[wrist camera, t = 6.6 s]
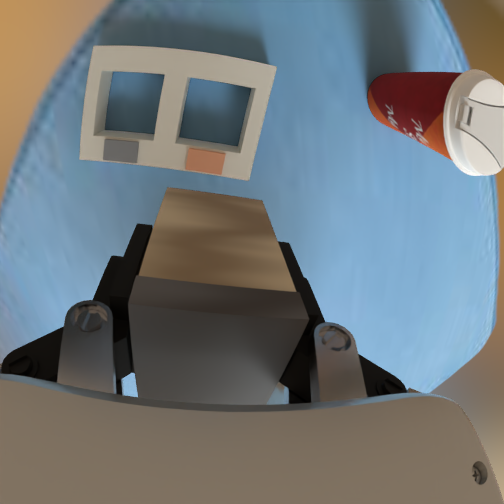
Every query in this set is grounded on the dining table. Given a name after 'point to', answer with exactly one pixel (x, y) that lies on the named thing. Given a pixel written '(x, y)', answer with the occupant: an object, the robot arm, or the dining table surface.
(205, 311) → the plug
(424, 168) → the dining table surface
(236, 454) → the robot arm
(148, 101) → the dining table surface
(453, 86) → the paper cup
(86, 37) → the dining table surface
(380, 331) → the dining table surface
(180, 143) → the socket block
